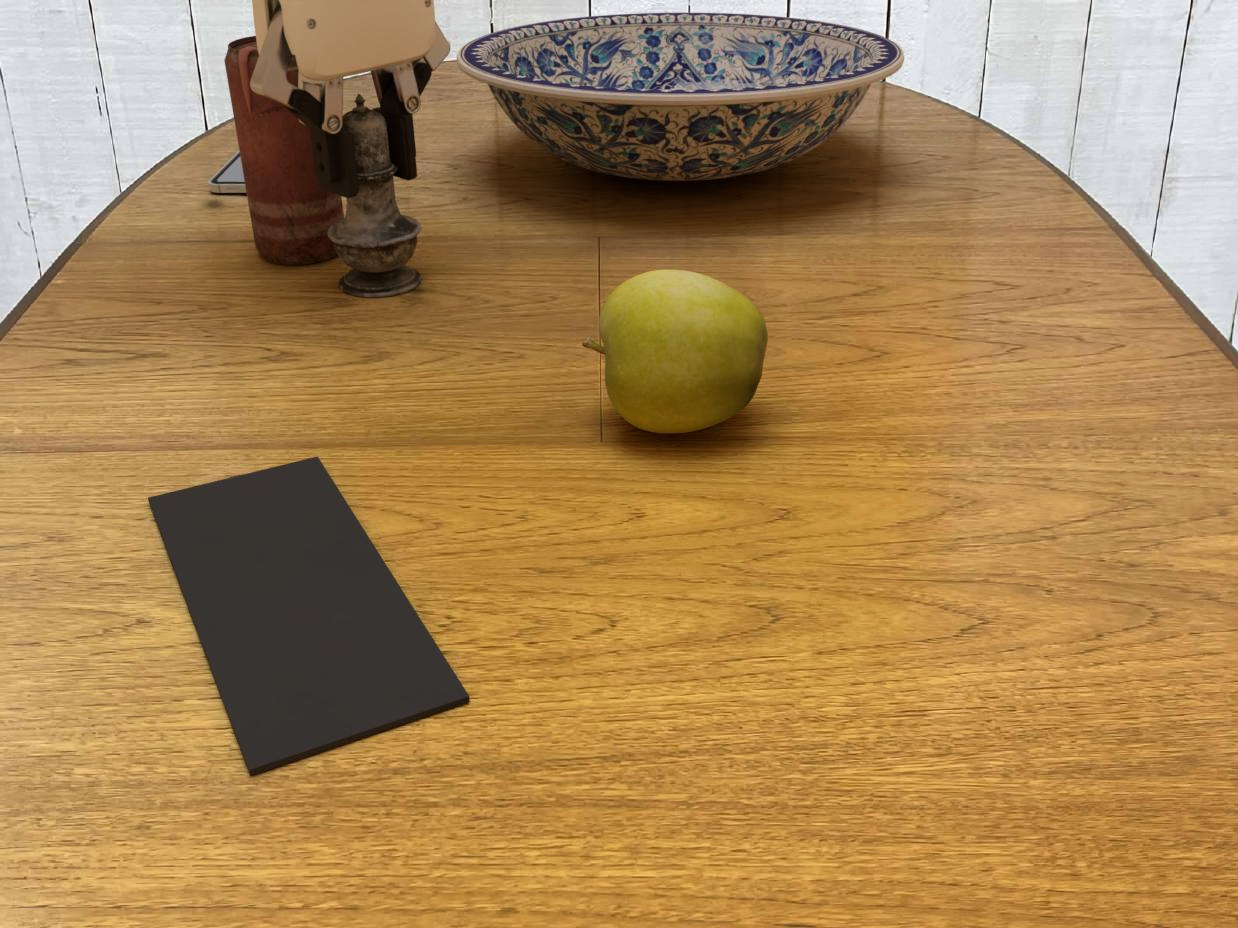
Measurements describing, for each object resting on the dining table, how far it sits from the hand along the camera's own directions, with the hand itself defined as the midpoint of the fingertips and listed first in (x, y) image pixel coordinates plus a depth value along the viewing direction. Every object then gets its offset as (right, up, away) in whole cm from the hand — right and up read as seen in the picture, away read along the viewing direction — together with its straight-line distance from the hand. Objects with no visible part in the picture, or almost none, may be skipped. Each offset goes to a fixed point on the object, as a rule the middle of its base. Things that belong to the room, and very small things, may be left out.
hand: (368, 181), depth 78 cm
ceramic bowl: (+20, +6, +24) cm, 32 cm away
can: (-6, -3, +8) cm, 11 cm away
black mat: (+2, -23, -26) cm, 35 cm away
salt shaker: (0, -6, +3) cm, 7 cm away
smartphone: (-12, +7, +26) cm, 29 cm away
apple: (+18, -16, -14) cm, 28 cm away
